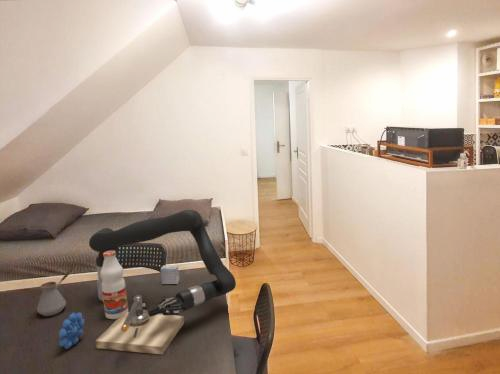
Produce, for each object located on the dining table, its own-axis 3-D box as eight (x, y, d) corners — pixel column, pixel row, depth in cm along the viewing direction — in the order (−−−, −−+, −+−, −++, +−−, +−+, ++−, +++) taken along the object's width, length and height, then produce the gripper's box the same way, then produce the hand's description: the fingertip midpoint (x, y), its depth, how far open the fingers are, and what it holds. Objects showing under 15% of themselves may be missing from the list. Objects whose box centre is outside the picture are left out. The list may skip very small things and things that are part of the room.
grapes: (77, 333, 141) (72, 305, 139) (90, 336, 139) (86, 307, 137) (52, 352, 130) (47, 321, 128) (66, 355, 128) (61, 324, 126)
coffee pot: (52, 320, 152) (46, 287, 149) (31, 316, 156) (25, 284, 153) (88, 296, 172) (84, 266, 169) (69, 293, 176) (65, 265, 173)
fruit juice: (128, 306, 161) (121, 246, 155) (128, 317, 152) (120, 254, 146) (106, 310, 158) (98, 250, 153) (104, 321, 149) (95, 257, 144)
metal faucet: (131, 315, 146) (128, 294, 145) (151, 313, 147) (149, 293, 145) (114, 351, 124) (111, 326, 122) (138, 349, 124) (135, 325, 123)
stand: (96, 348, 131) (95, 340, 131) (125, 318, 151) (125, 311, 150) (162, 354, 126) (161, 346, 125) (184, 322, 145) (183, 315, 145)
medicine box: (179, 281, 184) (178, 265, 182) (177, 285, 180) (175, 268, 178) (164, 281, 185) (163, 265, 183) (161, 285, 180) (160, 268, 179)
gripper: (181, 283, 147) (140, 297, 136) (198, 294, 136) (154, 311, 126) (183, 300, 148) (142, 316, 138) (199, 312, 138) (157, 330, 128)
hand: (148, 313), depth 132 cm, fingers closed
